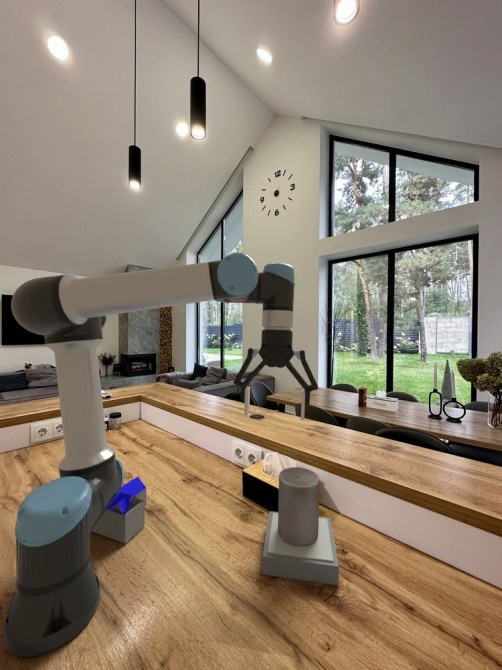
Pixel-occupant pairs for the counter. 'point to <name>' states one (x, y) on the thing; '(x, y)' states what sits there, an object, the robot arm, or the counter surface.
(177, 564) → the counter surface
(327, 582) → the plinth
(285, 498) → the pillar candle
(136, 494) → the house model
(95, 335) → the robot arm
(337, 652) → the counter surface
